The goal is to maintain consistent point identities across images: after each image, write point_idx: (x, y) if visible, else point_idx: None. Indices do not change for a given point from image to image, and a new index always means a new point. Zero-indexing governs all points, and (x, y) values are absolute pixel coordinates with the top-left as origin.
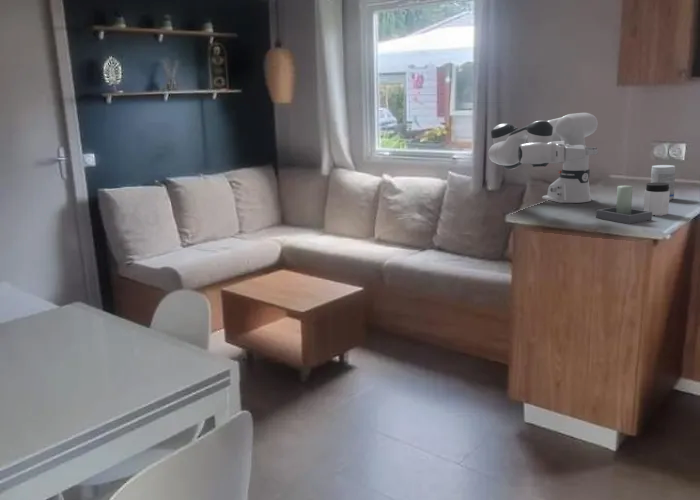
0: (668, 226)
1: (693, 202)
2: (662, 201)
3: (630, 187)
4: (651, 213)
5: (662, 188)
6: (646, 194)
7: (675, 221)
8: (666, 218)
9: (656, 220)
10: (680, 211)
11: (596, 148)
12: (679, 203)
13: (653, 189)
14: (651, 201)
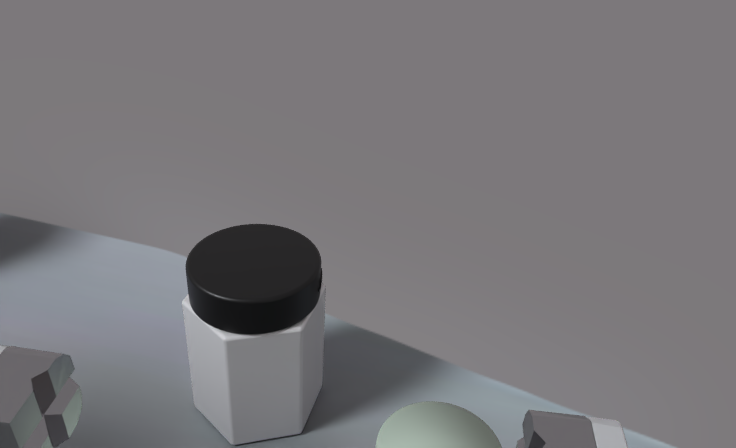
0: None
1: (25, 221)
2: (323, 327)
3: (485, 424)
4: None
5: (321, 269)
6: (254, 354)
7: (469, 371)
8: (392, 384)
9: None
10: None
11: (64, 363)
12: (19, 258)
13: (306, 305)
14: (305, 368)
